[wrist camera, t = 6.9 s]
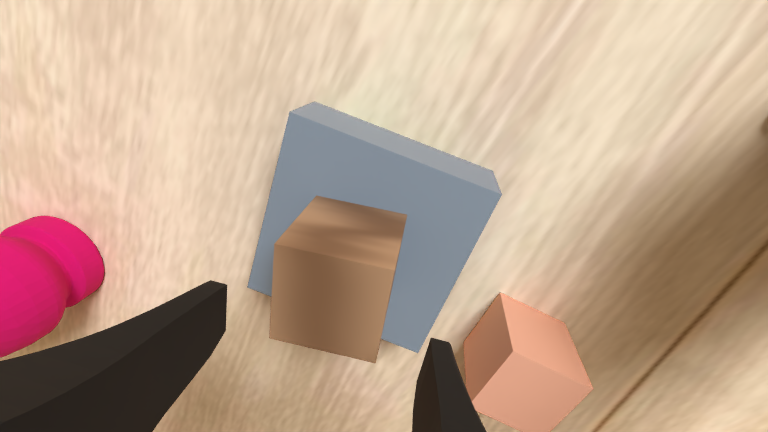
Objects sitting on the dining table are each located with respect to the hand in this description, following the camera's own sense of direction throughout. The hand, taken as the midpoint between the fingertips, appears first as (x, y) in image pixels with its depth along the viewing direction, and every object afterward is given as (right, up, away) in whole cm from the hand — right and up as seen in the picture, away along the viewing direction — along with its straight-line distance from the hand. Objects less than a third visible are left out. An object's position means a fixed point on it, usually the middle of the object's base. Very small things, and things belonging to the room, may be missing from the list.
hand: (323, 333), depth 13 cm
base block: (+1, +4, +10) cm, 10 cm away
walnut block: (+1, +3, +6) cm, 7 cm away
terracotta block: (+10, -3, +11) cm, 15 cm away
